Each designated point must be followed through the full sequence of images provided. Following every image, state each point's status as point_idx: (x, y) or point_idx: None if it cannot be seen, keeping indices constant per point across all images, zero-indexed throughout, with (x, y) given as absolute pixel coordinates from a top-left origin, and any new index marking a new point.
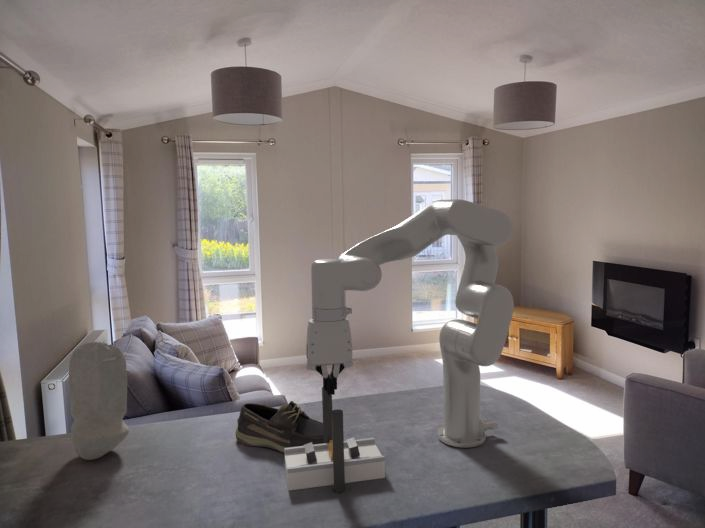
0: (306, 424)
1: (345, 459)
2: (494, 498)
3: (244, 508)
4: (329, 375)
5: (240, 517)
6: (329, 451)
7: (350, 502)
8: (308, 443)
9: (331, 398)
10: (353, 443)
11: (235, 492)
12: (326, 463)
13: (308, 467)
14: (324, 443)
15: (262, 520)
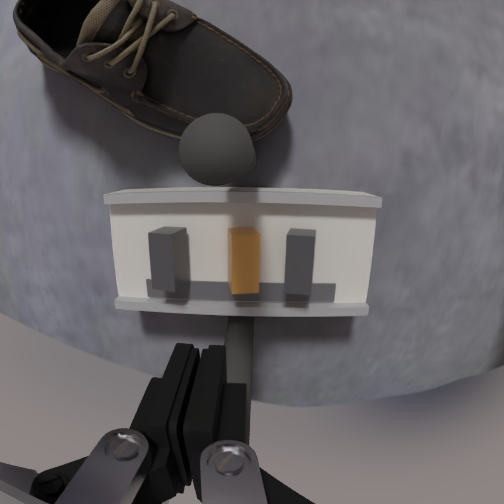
0: (179, 61)
1: (269, 284)
2: (466, 375)
3: (69, 317)
4: (184, 435)
5: (70, 337)
6: (228, 250)
7: (255, 356)
8: (161, 234)
9: (248, 168)
10: (303, 274)
11: (47, 263)
12: (210, 310)
13: (164, 311)
14: (221, 191)
15: (102, 356)
